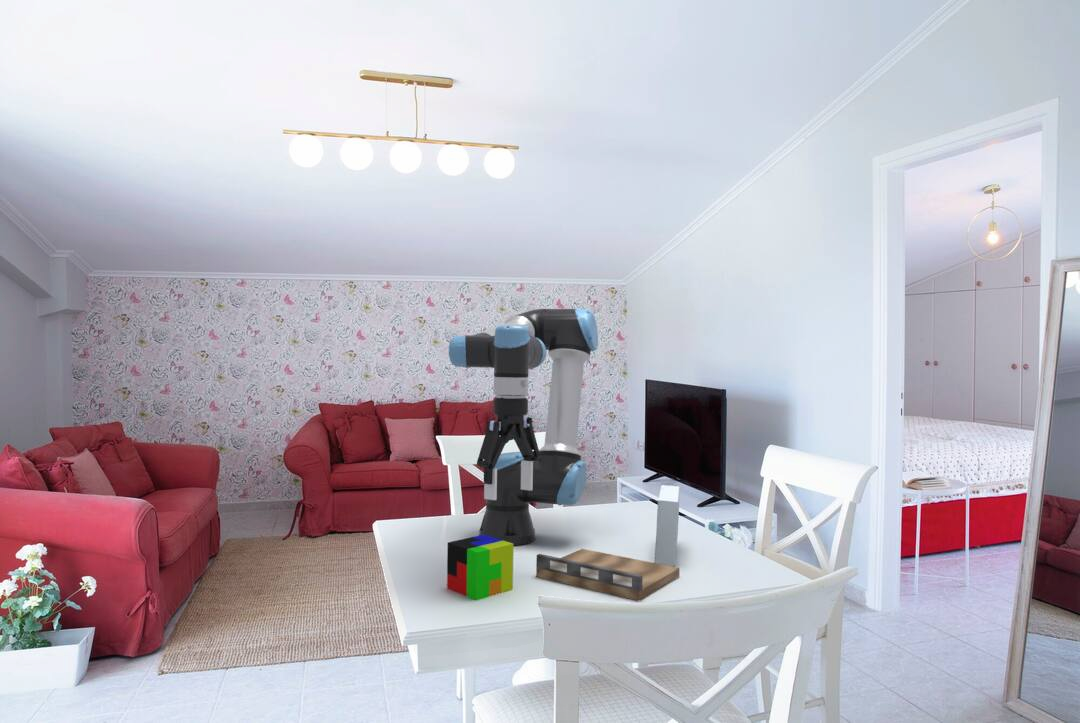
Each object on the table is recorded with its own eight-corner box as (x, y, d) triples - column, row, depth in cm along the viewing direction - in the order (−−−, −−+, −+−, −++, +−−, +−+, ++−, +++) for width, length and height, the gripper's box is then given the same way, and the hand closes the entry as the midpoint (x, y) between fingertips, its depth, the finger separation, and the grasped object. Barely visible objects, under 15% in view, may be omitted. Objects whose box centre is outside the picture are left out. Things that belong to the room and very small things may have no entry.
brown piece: (535, 577, 167) (536, 555, 166) (582, 556, 183) (582, 536, 183) (639, 601, 152) (639, 577, 152) (679, 576, 168) (679, 554, 168)
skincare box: (677, 567, 176) (678, 501, 175) (654, 565, 177) (655, 500, 176) (678, 544, 196) (679, 485, 196) (657, 543, 197) (659, 484, 197)
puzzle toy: (482, 578, 165) (483, 534, 165) (512, 589, 158) (513, 543, 158) (446, 588, 158) (447, 542, 158) (476, 600, 151) (477, 552, 151)
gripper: (490, 400, 147) (488, 505, 147) (555, 395, 168) (554, 488, 168) (460, 398, 151) (459, 501, 151) (528, 393, 172) (526, 484, 172)
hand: (509, 494), depth 160 cm, fingers open, 13 cm apart
